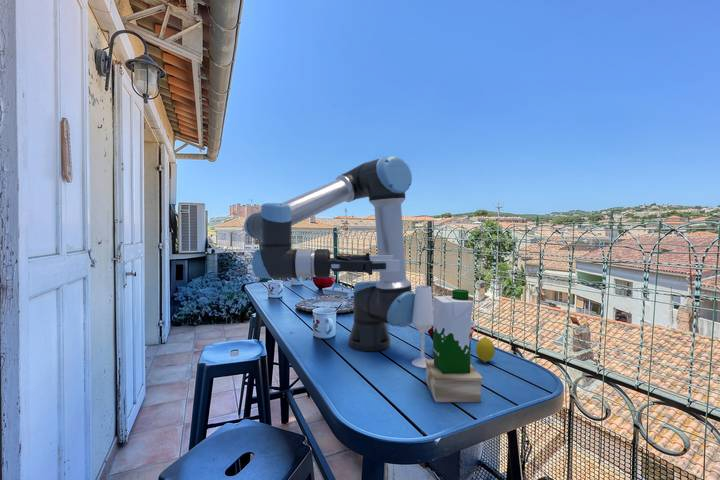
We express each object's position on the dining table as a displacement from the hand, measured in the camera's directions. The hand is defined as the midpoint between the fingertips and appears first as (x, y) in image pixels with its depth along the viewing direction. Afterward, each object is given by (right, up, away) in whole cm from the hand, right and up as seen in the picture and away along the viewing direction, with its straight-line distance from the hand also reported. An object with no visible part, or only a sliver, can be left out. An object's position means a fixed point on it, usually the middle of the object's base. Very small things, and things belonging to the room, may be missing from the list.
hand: (396, 262), depth 86 cm
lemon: (+30, -33, +18) cm, 48 cm away
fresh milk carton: (+14, -27, -1) cm, 31 cm away
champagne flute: (+10, -33, +17) cm, 38 cm away
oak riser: (+14, -33, -1) cm, 36 cm away
